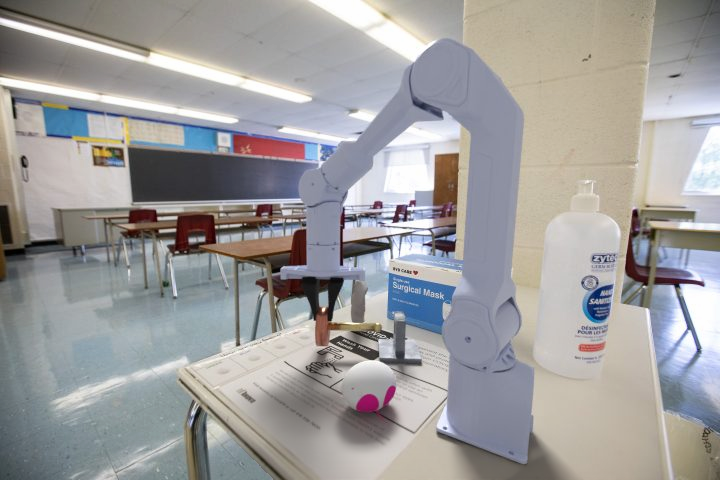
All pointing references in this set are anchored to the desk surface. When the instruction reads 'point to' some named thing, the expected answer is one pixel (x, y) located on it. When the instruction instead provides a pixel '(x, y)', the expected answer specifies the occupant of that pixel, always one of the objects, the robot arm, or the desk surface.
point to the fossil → (358, 302)
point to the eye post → (399, 344)
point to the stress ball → (369, 386)
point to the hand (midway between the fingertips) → (323, 319)
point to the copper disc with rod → (337, 327)
